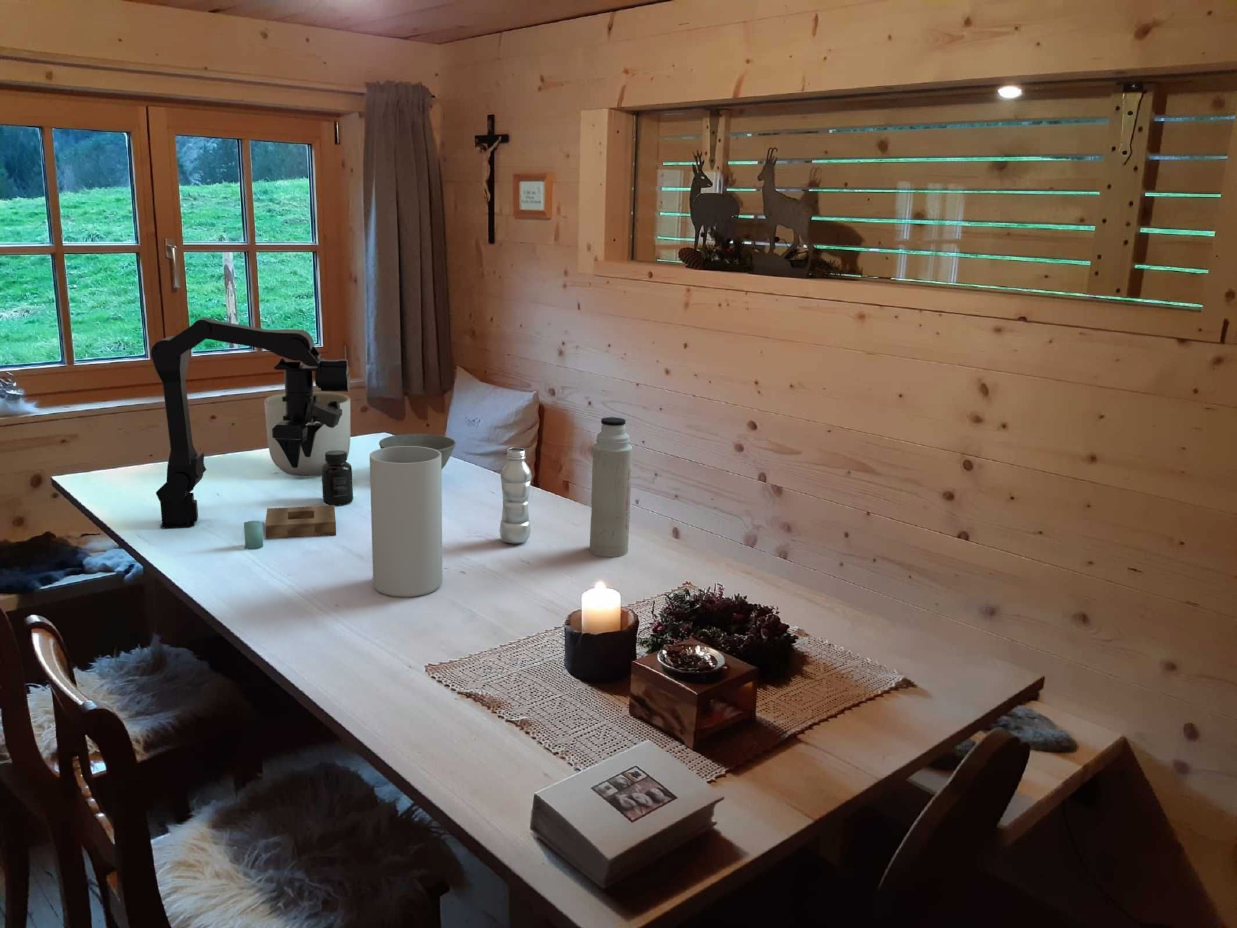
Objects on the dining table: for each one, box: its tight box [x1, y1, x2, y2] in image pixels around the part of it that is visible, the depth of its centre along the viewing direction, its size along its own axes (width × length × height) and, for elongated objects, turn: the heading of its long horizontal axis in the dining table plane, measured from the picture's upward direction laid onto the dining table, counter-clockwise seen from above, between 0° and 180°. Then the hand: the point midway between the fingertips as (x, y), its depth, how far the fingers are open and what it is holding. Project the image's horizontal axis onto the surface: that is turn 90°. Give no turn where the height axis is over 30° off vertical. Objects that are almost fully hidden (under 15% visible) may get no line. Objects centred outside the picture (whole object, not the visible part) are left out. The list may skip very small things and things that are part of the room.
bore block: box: [264, 504, 337, 540], centre depth 208 cm, size 14×12×3 cm
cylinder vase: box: [369, 446, 443, 598], centre depth 176 cm, size 12×12×25 cm
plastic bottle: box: [499, 447, 532, 544], centre depth 202 cm, size 6×7×20 cm
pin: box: [243, 520, 264, 551], centre depth 195 cm, size 3×3×5 cm
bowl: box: [378, 433, 457, 470], centre depth 246 cm, size 19×19×10 cm
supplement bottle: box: [321, 450, 354, 507], centre depth 225 cm, size 7×7×12 cm
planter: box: [264, 390, 351, 477], centre depth 249 cm, size 21×21×19 cm
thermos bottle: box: [589, 416, 633, 558], centre depth 198 cm, size 8×8×28 cm
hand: (301, 462), depth 209 cm, fingers open, 9 cm apart
